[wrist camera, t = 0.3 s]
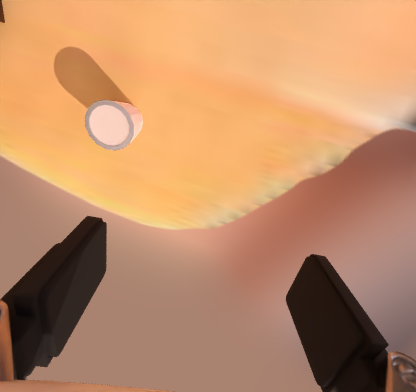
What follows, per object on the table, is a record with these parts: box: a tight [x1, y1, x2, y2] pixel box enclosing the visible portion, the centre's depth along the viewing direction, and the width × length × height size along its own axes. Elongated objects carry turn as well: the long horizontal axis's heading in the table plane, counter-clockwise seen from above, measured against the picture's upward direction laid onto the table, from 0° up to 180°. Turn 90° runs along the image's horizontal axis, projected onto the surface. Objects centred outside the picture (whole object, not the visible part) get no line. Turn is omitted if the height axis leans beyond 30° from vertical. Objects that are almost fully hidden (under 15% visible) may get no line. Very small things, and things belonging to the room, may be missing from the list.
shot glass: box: [85, 100, 143, 150], centre depth 34 cm, size 7×7×7 cm
